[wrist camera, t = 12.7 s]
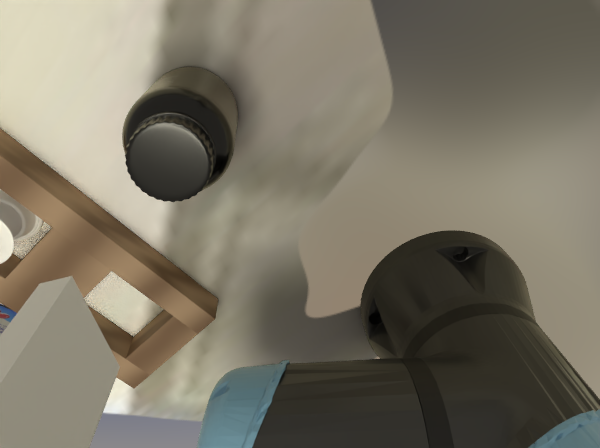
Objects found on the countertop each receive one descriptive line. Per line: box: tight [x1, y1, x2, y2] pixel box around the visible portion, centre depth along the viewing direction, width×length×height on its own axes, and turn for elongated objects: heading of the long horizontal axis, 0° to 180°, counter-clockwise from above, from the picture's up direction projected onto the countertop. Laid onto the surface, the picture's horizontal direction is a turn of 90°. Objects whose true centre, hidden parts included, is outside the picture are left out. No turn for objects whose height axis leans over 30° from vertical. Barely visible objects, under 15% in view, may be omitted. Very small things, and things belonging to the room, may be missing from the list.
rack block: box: [0, 129, 218, 388], centre depth 41 cm, size 24×11×3 cm, turn 43°
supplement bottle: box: [122, 67, 238, 202], centre depth 33 cm, size 7×7×12 cm
